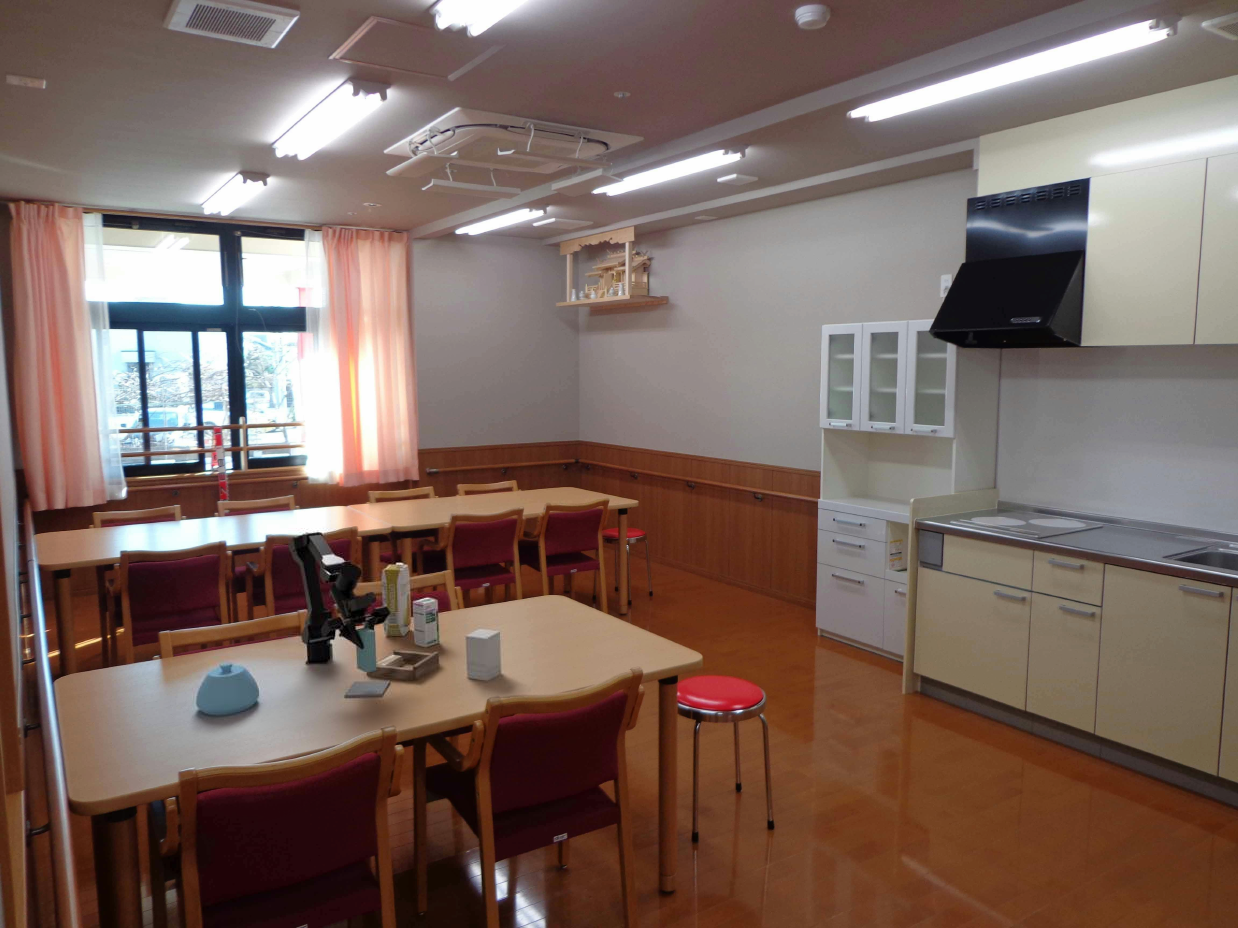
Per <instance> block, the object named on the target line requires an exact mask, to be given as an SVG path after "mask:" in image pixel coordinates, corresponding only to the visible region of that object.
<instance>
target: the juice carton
mask: <svg viewBox="0 0 1238 928" xmlns="http://www.w3.org/2000/svg"><path fill="white" fill-rule="evenodd" d="M381 572H382V574H381V592H382V593H381V597H382V598H381V599H382V602H381V603H382V606H387V607H388V608H389V610H390V612H391V613H390V614H389V616H388V617H387V619H386V620H385V622H384V623H382V624H383V630H384V631H383V632H384V635H385V637H403V636H405V635H406V634H407V633H408V631H410V630H411V624H412V615H411V614H412V613H411V612H412V610H411V583H410V582H411V579H410V578H411V577H410V570H409V565H408V564H404V563H403V562H396V563H395V564H389V565H387V566H386V568H384V569H382V571H381Z"/></svg>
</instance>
